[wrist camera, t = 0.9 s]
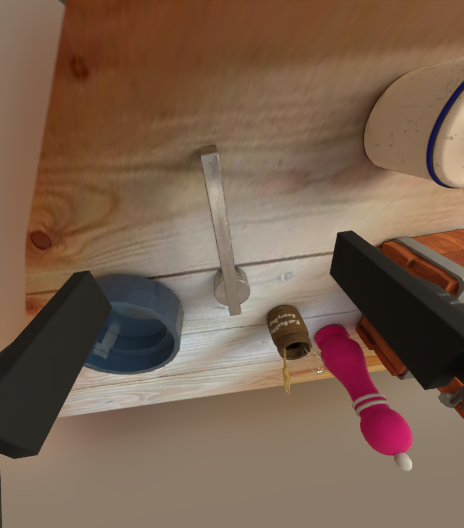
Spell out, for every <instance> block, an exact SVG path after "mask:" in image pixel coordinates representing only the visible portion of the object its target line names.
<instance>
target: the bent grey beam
mask: <svg viewBox="0 0 464 528" xmlns="http://www.w3.org/2000/svg"><path fill="white" fill-rule="evenodd" d="M200 158H201V163H202V169H203V174H204V179H205V185H206V190H207V195H208V200H209V206H210V211H211V216H212V222H213V227H214V232H215V238H216V243H217V248H218V253H219V259H220V264H221V269H222V270H220V271H219V272H218V273H217V274H216V276H215V278H214V290H215V298H216V300H217V301H218V302H219V303H221V304H223V305H226V306H229V312H230V316H233V315H239V314H241V308H240V304H242V303H243V302H245V301H246V300H247V299H248V297H249V295H250V288H249V284H248V280H247V276H246V274H245V272H244V271H243V270H241V269H239V268H236V267H235V266H234V259H233V252H232V245H231V238H230V231H229V224H228V217H227V210H226V203H225V196H224V189H223V182H222V175H221V168H220V161H219V154H218V151H217V149H216V146H215V145H209V146H203V147H202V149H201V154H200Z"/></svg>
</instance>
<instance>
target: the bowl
mask: <svg viewBox="0 0 464 528" xmlns="http://www.w3.org/2000/svg"><path fill="white" fill-rule="evenodd" d="M95 280H96V282H97V284H98V285H99V287H100V288H101V290H102V292H103V293H104V295H105V296H106V298H107V299H108V301H109V303H110V304H111V306H112V307H113V308H112V310H111V312H110V314H109V316H108V318H107V320H106V322H105V324H104V326H103V328H102V330H101V332H100V333H99V335H98V337H97V339H96V341H95V343H94V345H93V347H92V349H91V351H90V353H89V355H88V357H87V359H86V361H85V363H84V365H83V366H84V367H87V368H90V369H93V370H96V371H99V372H105V373H112V374H140V373H146V372H151V371H154V370H156V369H159V368H161V367H164V366H165V365H166V364H168V363H169V362H171V361H172V360H173V359H174V358H175V356H176V355H177V353H178V351H179V350H180V342H181V333H182V325H183V315H184V312H183V309H182V306H181V304H180V301H179V300H178V299H177V298H176V297H175V295H174V294H173V293H172V292H171V291H170V290H169V289H167V288H165V287H164V286H162V285H161V284H159V283H157V282H155V281H152V280H149V279H146V278H143V277H140V276H134V275H122V274H117V275H111V276H104V277H100V278H98V279H95Z"/></svg>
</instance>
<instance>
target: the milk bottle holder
mask: <svg viewBox="0 0 464 528" xmlns="http://www.w3.org/2000/svg"><path fill="white" fill-rule="evenodd" d="M381 252H382V253H383V254H384V255H386V256H387V257H388V258H390V259H391V260H393V261H394V262H395V263H397V264H398V265H399V266H401V267H402V268H403V269H405V270H406V271H407V272H409V273H410V274H412V275H413V276H414V277H422V278H424V279H426V280H429V281H431V282H433V283H435V284H437V285H439V286H440V287H441V288H443V289H444V290H446V291H447V292H449V294H450V295H453V296H454V297H456V298H457V299H459V300H460V301H461V303H464V229H461V230H455V231H449V232H444V233H438V234H432V235H426V236H420V237H414V238H411V237H401V238H395V239H393V240H392V241H391V242H385V243H384V244H383V247H382V250H381ZM356 332H357V333H358V335H359V336H360V338H361V340H362V341H363V342H364V343H365V345H366V346H367V347H368V348H369V350H374V351H375V353H376V354H377V356H378V357H379V359H380V360H381V362H382V363H383V365H384V366H385V368H386V369H387V370H388V371H389V372H390V373H391V375H393V376H397V377H398V378H399V379H401V380H403V379H410V378H414V376H413V375H412V374H411V372H410V371H409V370H408V369H407V368H406V366H405V365H404V364H403V363H402V361H401V360H400V359H399V358H398V357H397V355H396V354H395V353H394V352H393V350H392V349H391V348H390V347H389V346H388V344H387V343H386V342H385V341H384V340H383V338H382V337H381V336H380V335H379V333H378V332H377V331H376V330H375V329H374V327H373V326H372V325H371V324H370V322H369V321H368V320H367V319H366V318H365V316H364V315H363V318H362V321H361V324H360V325H357V327H356ZM462 386H463V384H462V383H461V382H460V381H459V380H458V379H457V378H456V377H455V378H454V379H453V380H452V382H451V383H450V384H449V385H448V386H446V387H440V388H437V389H438V390H439V391H440V392H441V394H440V396H439V399H440V401H441V403H443V404H444V405H445V406H447V407H450V408H455V410H456V411H457V412H458V413H459V414H460V415H461V417H462V418H464V412H463V409H462V408H460V407H461V406H462V399H460V400H459V401H458V402H457V403H456V404H455V405H452V404H450V403H449V402H450V398H451V397H452V396H453V395H454V394H455V393H456V392H457V391H458V390H459V389H460V388H461V387H462Z"/></svg>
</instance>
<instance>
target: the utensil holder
mask: <svg viewBox="0 0 464 528" xmlns="http://www.w3.org/2000/svg"><path fill="white" fill-rule="evenodd" d="M267 324H268V327H269V331H270V334H271V337H272V340H273V342H274V344H275V345H276V347H277V349H278V352H279V354H280V356H281V357H282V358H284V368H283V377H284V388H285V392H286V391H287V393H288V394H289V395H290V385H289V372H288V370H287V364H286V359H287V360H295V359H299V358H303V357H304V356H306V355H307V354H309V352H310V351H312V350H311V349H312V344H311V341H310V339H309V337H308V330H307V328H306V325H305V323H304V321H303V319H302V317H301V315H300V313H299V312H298V310H297V309H296V308H294V307H293V306H289V305H283V306H279V307H276V308H274V309H273V310H272V311H271V312H270V313H269V314H268V317H267ZM314 350H315V349H314ZM315 351H316V350H315ZM316 352H317V351H316ZM314 353H315V352H314ZM317 353H318V352H317ZM309 356H310V354H309ZM316 356H317V355H316ZM317 357H318V356H317ZM320 357H321V356H320ZM305 358H306V357H305ZM311 359H312V357H311ZM303 360H304V359H303ZM305 360H307V359H305ZM319 360H320V359H319ZM322 360H323V359H322ZM304 362H305V361H304ZM306 362H307V363H308V361H306ZM313 362H314V360H313ZM320 362H321V360H320ZM323 362H324V361H323ZM314 363H315V362H314ZM305 364H306V363H305ZM315 364H316V363H315ZM322 364H323V363H322ZM322 364H321V365H322ZM309 366H310V364H309ZM316 366H317V364H316ZM323 366H324V369H325V364H324V365H323ZM307 367H308V366H307ZM310 367H311V366H310ZM311 368H312V367H311ZM312 369H313V368H312ZM318 369H319V367H318ZM324 369H323V370H324ZM319 370H320V369H319ZM323 370H320V371H321V372H319V374H320V373H322V372H323ZM310 371H311V370H310ZM313 371H314V369H313ZM315 371H316V370H315ZM315 371H314V372H315ZM314 372H313V373H314ZM317 372H318V371H317ZM315 373H316V372H315ZM317 374H318V373H317Z"/></svg>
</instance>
